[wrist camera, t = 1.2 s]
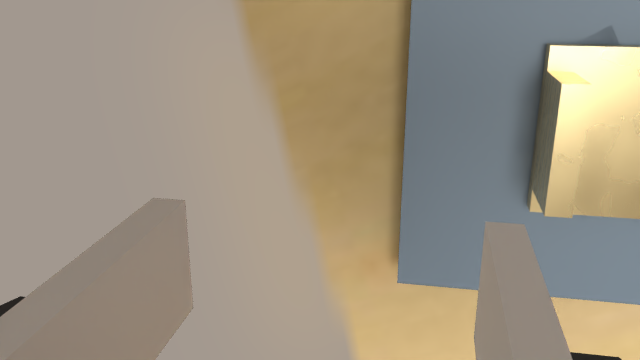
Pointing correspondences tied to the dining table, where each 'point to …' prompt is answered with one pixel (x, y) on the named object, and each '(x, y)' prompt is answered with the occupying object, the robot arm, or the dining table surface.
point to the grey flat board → (500, 145)
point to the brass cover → (588, 133)
